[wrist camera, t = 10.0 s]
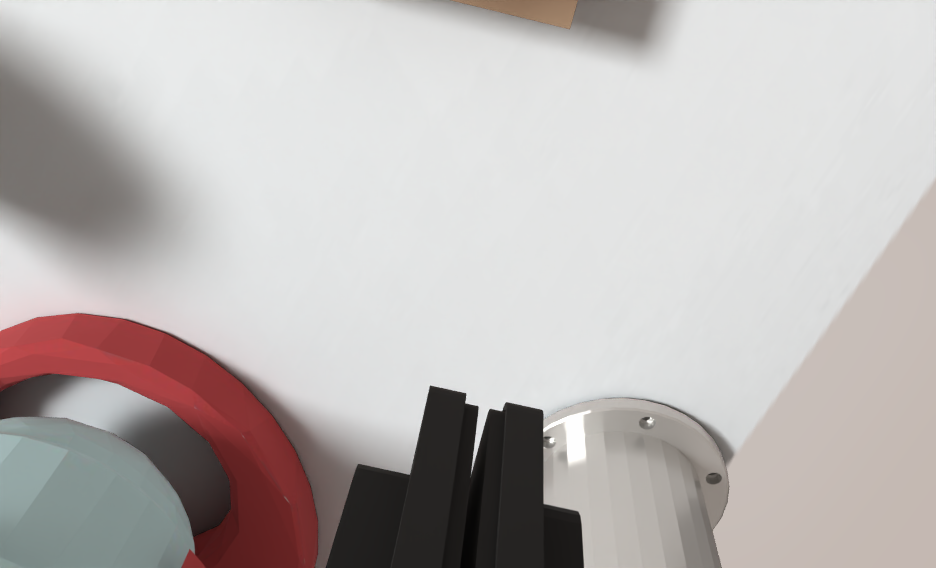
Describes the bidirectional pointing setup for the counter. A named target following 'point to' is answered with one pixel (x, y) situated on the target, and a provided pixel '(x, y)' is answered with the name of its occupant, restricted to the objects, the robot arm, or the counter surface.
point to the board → (532, 9)
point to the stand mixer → (141, 461)
